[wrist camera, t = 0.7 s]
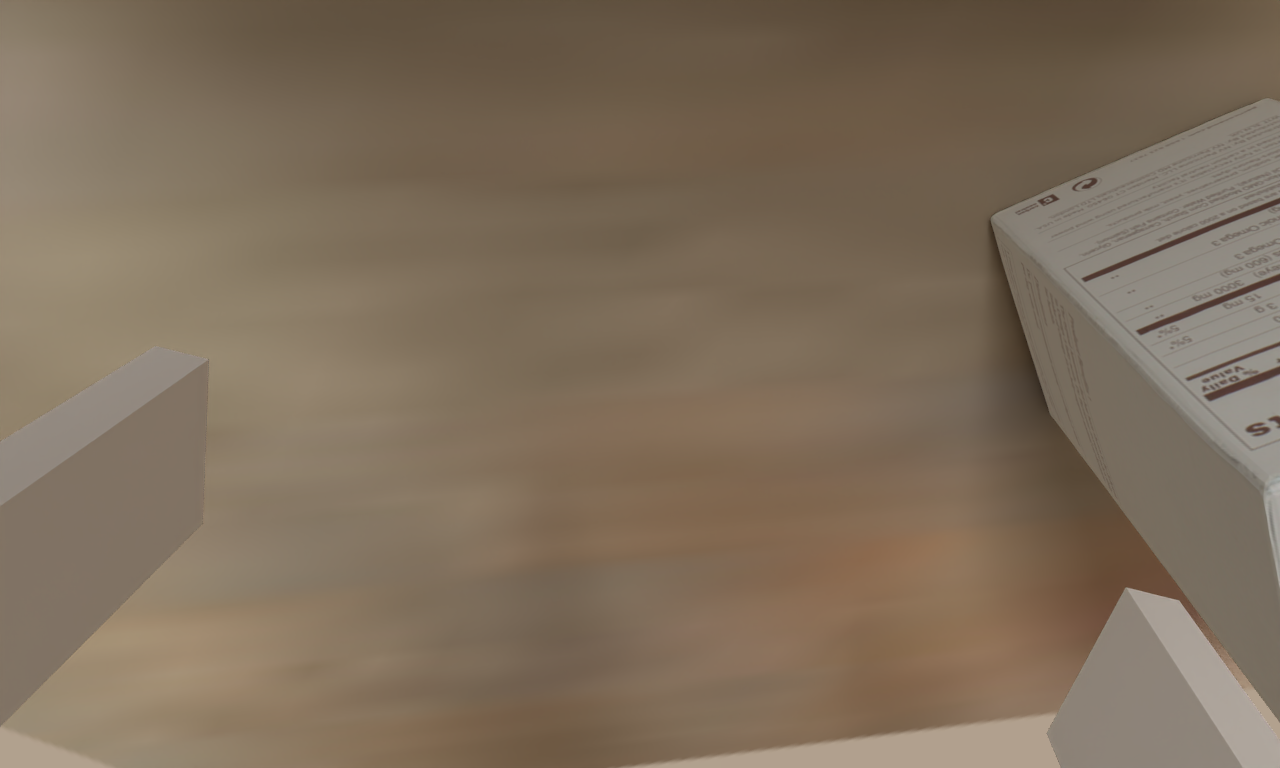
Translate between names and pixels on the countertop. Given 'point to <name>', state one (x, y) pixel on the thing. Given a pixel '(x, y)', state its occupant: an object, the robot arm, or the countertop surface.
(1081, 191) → the supplement box
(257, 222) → the countertop surface
